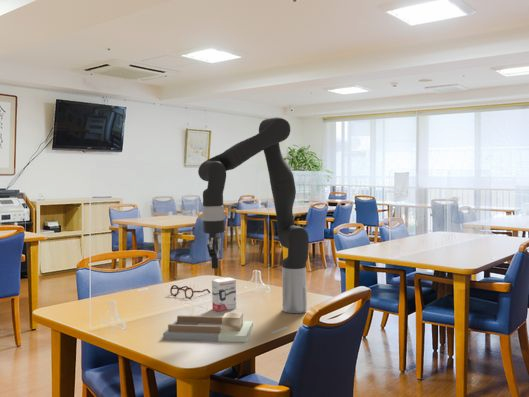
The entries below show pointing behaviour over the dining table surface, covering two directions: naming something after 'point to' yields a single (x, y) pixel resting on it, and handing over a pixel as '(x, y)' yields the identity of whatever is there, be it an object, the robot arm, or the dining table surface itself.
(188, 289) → the glasses
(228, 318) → the beech block
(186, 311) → the dining table surface
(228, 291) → the ink box
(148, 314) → the dining table surface
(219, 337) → the channel deck
